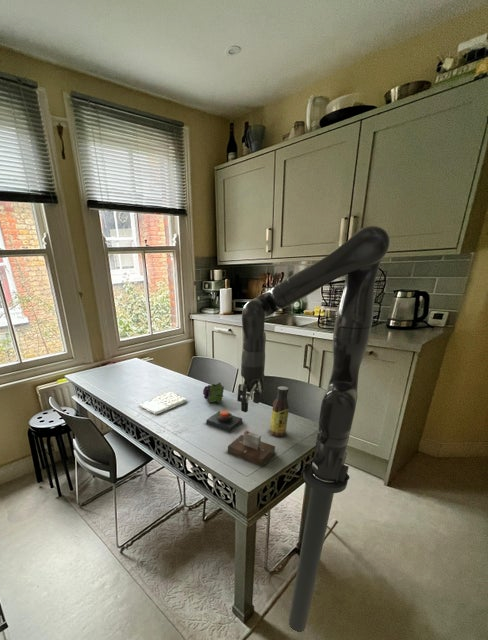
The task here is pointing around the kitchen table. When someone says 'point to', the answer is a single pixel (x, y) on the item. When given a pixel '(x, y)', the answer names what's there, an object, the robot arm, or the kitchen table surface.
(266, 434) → the kitchen table surface
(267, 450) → the base
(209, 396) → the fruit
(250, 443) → the tap lever
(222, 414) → the button
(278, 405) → the sauce bottle
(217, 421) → the push button box
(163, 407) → the calculator
